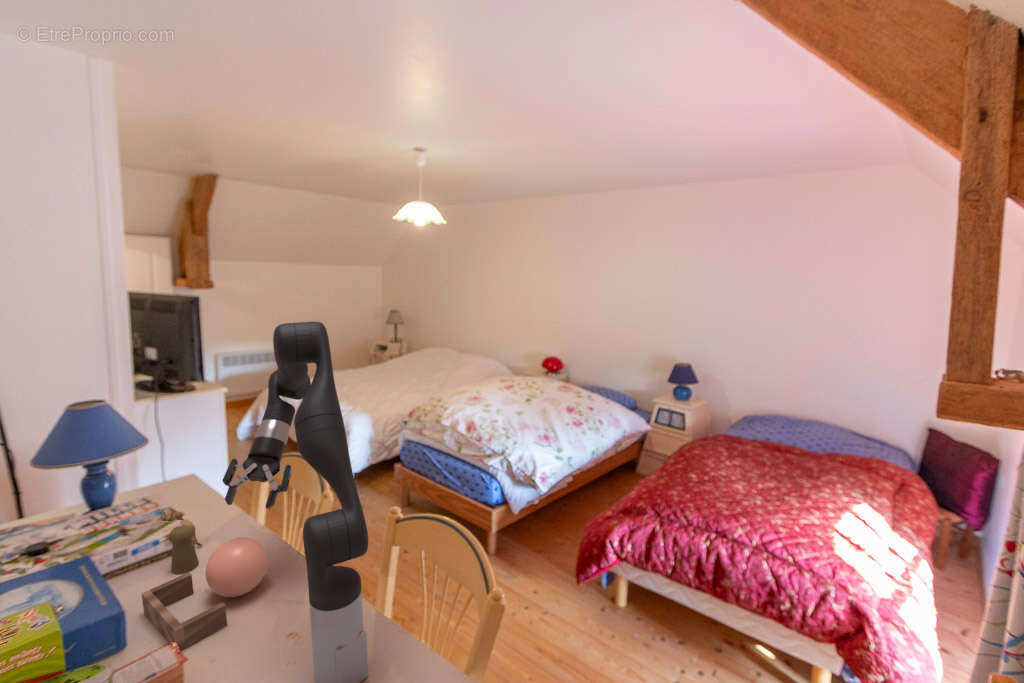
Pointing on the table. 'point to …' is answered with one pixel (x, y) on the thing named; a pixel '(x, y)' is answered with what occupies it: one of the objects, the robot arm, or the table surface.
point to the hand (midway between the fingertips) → (248, 506)
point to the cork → (183, 550)
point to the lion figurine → (174, 515)
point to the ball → (236, 567)
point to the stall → (168, 624)
